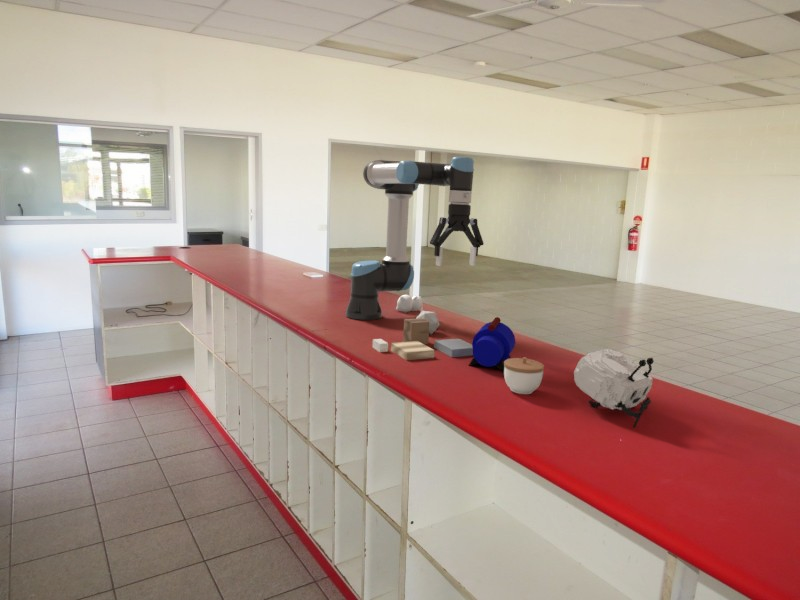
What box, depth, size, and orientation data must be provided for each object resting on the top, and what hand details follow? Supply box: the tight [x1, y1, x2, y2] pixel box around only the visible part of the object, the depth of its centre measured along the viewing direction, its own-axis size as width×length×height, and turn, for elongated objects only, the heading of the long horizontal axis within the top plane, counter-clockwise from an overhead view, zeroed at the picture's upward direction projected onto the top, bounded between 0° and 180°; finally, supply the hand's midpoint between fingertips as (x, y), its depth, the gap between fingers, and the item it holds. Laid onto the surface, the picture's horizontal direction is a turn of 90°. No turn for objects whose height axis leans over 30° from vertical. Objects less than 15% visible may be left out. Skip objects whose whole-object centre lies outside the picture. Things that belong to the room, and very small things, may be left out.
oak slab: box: [390, 341, 436, 361], centre depth 185 cm, size 12×10×3 cm
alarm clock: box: [467, 316, 516, 372], centre depth 175 cm, size 12×12×15 cm
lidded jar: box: [503, 356, 545, 395], centre depth 154 cm, size 11×11×9 cm
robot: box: [573, 348, 655, 429], centre depth 141 cm, size 17×20×18 cm
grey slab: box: [433, 338, 473, 358], centre depth 191 cm, size 12×10×3 cm
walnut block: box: [402, 317, 430, 345], centre depth 200 cm, size 6×7×8 cm
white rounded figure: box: [395, 294, 424, 314], centre depth 251 cm, size 9×11×12 cm
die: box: [415, 310, 441, 335], centre depth 215 cm, size 8×9×10 cm
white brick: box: [372, 338, 389, 353], centre depth 189 cm, size 6×3×3 cm, turn 26°
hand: (455, 265), depth 196 cm, fingers open, 13 cm apart
